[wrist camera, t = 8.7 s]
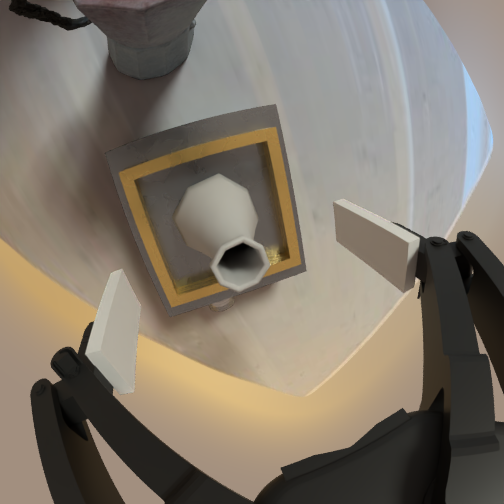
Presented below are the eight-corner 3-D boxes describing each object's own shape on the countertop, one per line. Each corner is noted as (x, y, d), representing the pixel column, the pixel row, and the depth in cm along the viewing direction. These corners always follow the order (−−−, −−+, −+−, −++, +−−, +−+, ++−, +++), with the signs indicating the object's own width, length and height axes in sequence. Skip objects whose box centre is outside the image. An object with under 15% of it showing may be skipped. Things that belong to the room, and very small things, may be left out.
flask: (157, 216, 22) (146, 268, 13) (219, 158, 22) (249, 171, 13) (213, 269, 26) (235, 338, 17) (271, 217, 25) (323, 263, 16)
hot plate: (119, 150, 24) (100, 153, 18) (256, 110, 26) (282, 102, 20) (176, 303, 33) (179, 342, 26) (288, 265, 35) (314, 296, 28)
